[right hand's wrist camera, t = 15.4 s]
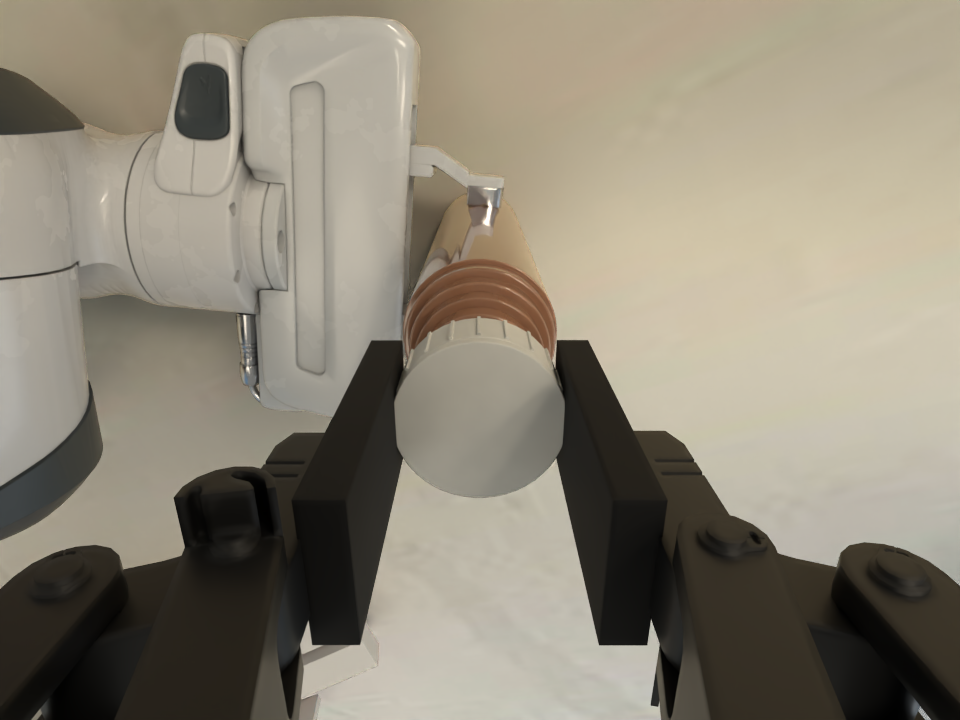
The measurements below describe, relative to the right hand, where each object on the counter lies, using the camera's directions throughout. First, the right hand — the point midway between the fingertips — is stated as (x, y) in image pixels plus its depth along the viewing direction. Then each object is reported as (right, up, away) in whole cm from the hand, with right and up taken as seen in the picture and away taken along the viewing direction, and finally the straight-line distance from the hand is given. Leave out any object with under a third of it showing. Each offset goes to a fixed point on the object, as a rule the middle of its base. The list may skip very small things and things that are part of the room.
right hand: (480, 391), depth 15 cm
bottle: (0, +9, +22) cm, 24 cm away
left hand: (+1, +6, +16) cm, 17 cm away
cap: (0, -1, -1) cm, 1 cm away
